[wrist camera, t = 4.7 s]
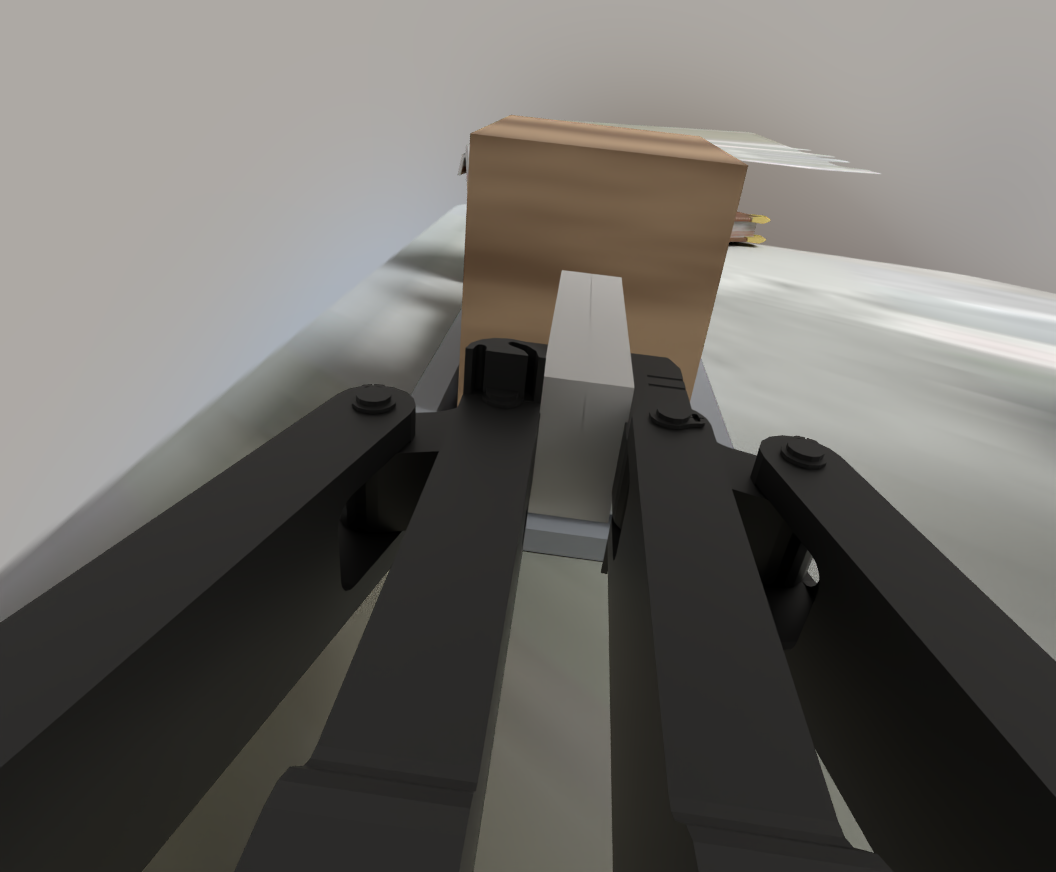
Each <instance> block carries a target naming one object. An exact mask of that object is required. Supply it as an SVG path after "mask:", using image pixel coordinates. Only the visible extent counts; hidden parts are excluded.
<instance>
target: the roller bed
mask: <svg viewBox="0 0 1056 872" xmlns="http://www.w3.org/2000/svg"><path fill="white" fill-rule="evenodd" d="M461 318H462V308H461V310H460V312H459V313H458V315H457V317H456V319H455V320H454V322H453V324H452V325H451V327H450V329H449V330H448V332H447V334H446V336H445V337H444V339H443V341H442V342H441V344H440V346H439V348H438V349H437V351H436V353H435V354H434V356H433V358H432V359H431V361H430V363H429V365H428V366H427V368H426V370H425V371H424V373H423V375H422V377H421V378H420V380H419V382H418V383H417V385H416V387H415V389H414V390H413V392H412V394H411V395H410V396H412V397H413V398H414V401H415V405H416V413H422V412H439V411H446V410H450V409H455V408H457V402H458V381H459V360H460V339H461ZM690 405H691V408H692V410H695V411H697V412H698V413H700V414H701V415H703V416H704V417H706V418H707V420H708V421H709V422H710V424H711V425H712V429H713V432H714V435H715V438H716V441H717V442H718V443H720V444H722V445H724V446H727V447H730V448H733V449H734V447H733V445H732V442H731V439H730V436H729V434H728V431H727V428H726V425H725V423H724V420H723V417H722V414H721V412H720V409H719V406H718V403H717V401H716V398H715V395H714V392H713V390H712V387H711V384H710V381H709V379H708V376H707V373H706V370H705V368H704V365H703V362H702V359H700V363H699V367H698V372H697V376H696V380H695V384H694V388H693V392H692V396H691V400H690ZM611 519H612V505H611V510H610V515H609V520H608V523H603V522H596V521H588V520H581V519H573V518H566V517H559V516H551V515H544V514H536V513H529V512H528V515H527V524H526V531H525V538H524V545H523V550H524V551H532V552H539V553H546V554H553V555H561V556H568V557H575V558H583V559H590V560H597V561H603V559H604V554H605V549H606V544H607V539H608V534H609V529H610V524H611Z"/></svg>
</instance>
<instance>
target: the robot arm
mask: <svg viewBox="0 0 1056 872" xmlns="http://www.w3.org/2000/svg"><path fill="white" fill-rule="evenodd" d="M611 505H612V519H611V524H610V529H609V534H608V539H607V544H606V549H605V554H604V559H603V564H602V569H601V573H605V574H607V572H608V604H609V664H610V724H611V784H612V843H613V872H1056V661H1055V660H1054V659H1052V658H1051V657H1050V656H1049V655H1048V654H1047V653H1046V652H1045V651H1044V650H1043V649H1042V648H1041V647H1040V646H1039V645H1038V644H1037V643H1036V642H1035V641H1034V640H1033V639H1032V638H1030V637H1029V636H1028V635H1027V634H1026V633H1025V632H1024V631H1023V630H1022V629H1021V628H1020V627H1019V626H1018V625H1017V624H1016V623H1015V622H1014V621H1013V620H1012V619H1011V618H1009V617H1008V616H1007V615H1006V614H1005V613H1004V612H1003V611H1002V610H1001V609H1000V608H999V607H998V606H997V605H996V604H995V603H994V602H993V601H992V600H991V599H990V598H989V597H987V596H986V595H985V594H984V593H983V592H982V591H981V590H980V589H979V588H978V587H977V586H976V585H975V584H974V583H973V582H972V581H971V580H970V579H969V578H968V577H966V576H965V575H964V574H963V573H962V572H961V571H960V570H959V569H958V568H957V567H956V566H955V565H954V564H953V563H952V562H951V561H950V560H949V559H948V558H947V557H946V556H944V555H943V554H942V553H941V552H940V551H939V550H938V549H937V548H936V547H935V546H934V545H933V544H932V543H931V542H930V541H929V540H928V539H927V538H926V537H925V536H924V535H922V534H921V533H920V532H919V531H918V530H917V529H916V528H915V527H914V526H913V525H912V524H911V523H910V522H909V521H908V520H907V519H906V518H905V517H904V516H903V515H901V514H900V513H899V512H898V511H897V510H896V509H895V508H894V507H893V506H892V505H891V504H890V503H889V502H888V501H887V500H886V499H885V498H884V497H883V496H882V495H881V494H879V493H878V492H877V491H876V490H875V489H874V488H873V487H872V486H871V485H870V484H869V483H868V482H867V481H866V480H865V479H864V478H863V477H862V476H861V475H860V474H858V473H857V472H856V471H855V470H854V469H853V468H852V467H851V466H850V465H849V464H848V463H847V462H846V461H845V460H844V459H843V458H842V457H841V456H839V455H838V454H836V453H835V452H834V451H832V450H831V449H829V448H827V447H825V446H823V445H821V444H818V442H817V441H815V440H812V439H809V438H807V439H805V437H800V436H794V437H792V436H783V435H782V436H772V437H768V438H767V439H765V440H763V441H762V442H761V445H760V448H759V451H758V454H757V456H756V455H753V454H749V453H746V452H742V451H739V450H735V449H733V448H730V447H727V446H724V445H722V444H720V443H718V442H717V441H716V438H715V435H714V432H713V429H712V425H711V424H710V422H709V421H708V420H707V418H706V417H704V416H703V415H701V414H700V413H698V412H697V411H695V410H692V408H691V405H690V401H689V397H688V394H687V391H686V387H685V383H684V381H683V376H682V373H681V369H680V368H679V367H678V366H677V365H676V364H675V363H673V362H672V361H671V360H670V359H669V358H666V357H658V356H650V355H643V354H635V353H630V345H629V337H628V328H627V320H626V312H625V303H624V295H623V286H622V278H621V277H614V276H606V275H598V274H590V273H581V272H573V271H565V270H562V272H561V277H560V283H559V288H558V294H557V299H556V305H555V310H554V316H553V321H552V327H551V332H550V337H549V343H548V344H541V343H533V342H525V341H520V340H515V339H508V338H489V339H481V340H478V341H475V342H472V343H470V344H469V345H468V346H467V347H466V348H465V366H464V385H463V395H462V397H461V400H460V402H459V405H458V407H457V408H455V409H450V410H446V411H439V412H422V413H416V405H415V401H414V398H413V397H412V396H410V395H409V394H408V393H407V392H405V391H402V390H399V389H397V388H393V387H387V386H384V385H379V384H374V386H372V384H369V385H362V386H360V387H356V388H351V389H348V390H345V391H343V392H341V393H339V394H337V395H336V396H334V397H333V398H331V399H330V400H328V401H327V402H325V403H324V404H322V405H321V406H319V407H318V408H316V409H315V410H314V411H312V412H311V413H309V414H308V415H306V416H305V417H303V418H302V419H300V420H299V421H297V422H296V423H294V424H293V425H291V426H290V427H288V428H287V429H285V430H284V431H283V432H281V433H280V434H278V435H277V436H275V437H274V438H272V439H271V440H269V441H268V442H266V443H265V444H263V445H262V446H260V447H259V448H257V449H256V450H255V451H253V452H252V453H250V454H249V455H247V456H246V457H244V458H243V459H241V460H240V461H238V462H237V463H235V464H234V465H232V466H231V467H229V468H228V469H226V470H225V471H224V472H222V473H221V474H219V475H218V476H216V477H215V478H213V479H212V480H210V481H209V482H207V483H206V484H204V485H203V486H201V487H200V488H198V489H197V490H196V491H194V492H193V493H191V494H190V495H188V496H187V497H185V498H184V499H182V500H181V501H179V502H178V503H176V504H175V505H173V506H172V507H170V508H169V509H167V510H166V511H165V512H163V513H162V514H160V515H159V516H157V517H156V518H154V519H153V520H151V521H150V522H148V523H147V524H145V525H144V526H142V527H141V528H139V529H138V530H136V531H135V532H134V533H132V534H131V535H129V536H128V537H126V538H125V539H123V540H122V541H120V542H119V543H117V544H116V545H114V546H113V547H111V548H110V549H108V550H107V551H106V552H104V553H103V554H101V555H100V556H98V557H97V558H95V559H94V560H92V561H91V562H89V563H88V564H86V565H85V566H83V567H82V568H80V569H79V570H77V571H76V572H75V573H73V574H72V575H70V576H69V577H67V578H66V579H64V580H63V581H61V582H60V583H58V584H57V585H55V586H54V587H52V588H51V589H49V590H48V591H47V592H45V593H44V594H42V595H41V596H39V597H38V598H36V599H35V600H33V601H32V602H30V603H29V604H27V605H26V606H24V607H23V608H21V609H20V610H18V611H17V612H16V613H14V614H13V615H11V616H10V617H8V618H7V619H5V620H4V621H2V622H1V623H0V872H142V870H143V869H144V868H145V867H146V865H147V864H148V863H149V862H150V861H151V859H152V858H153V857H154V856H155V854H156V853H157V852H158V851H159V850H160V848H161V847H162V846H163V845H164V843H165V842H166V841H167V840H168V839H169V837H170V836H171V835H172V834H173V833H174V831H175V830H176V829H177V828H178V826H179V825H180V824H181V823H182V822H183V820H184V819H185V818H186V817H187V815H188V814H189V813H190V812H191V811H192V809H193V808H194V807H195V806H196V804H197V803H198V802H199V801H200V800H201V798H202V797H203V796H204V795H205V794H206V792H207V791H208V790H209V789H210V787H211V786H212V785H213V784H214V783H215V781H216V780H217V779H218V778H219V776H220V775H221V774H222V773H223V772H224V770H225V769H226V768H227V767H228V765H229V764H230V763H231V762H232V761H233V759H234V758H235V757H236V756H237V755H238V753H239V752H240V751H241V750H242V748H243V747H244V746H245V745H246V744H247V742H248V741H249V740H250V739H251V737H252V736H253V735H254V734H255V733H256V731H257V730H258V729H259V728H260V726H261V725H262V724H263V723H264V722H265V720H266V719H267V718H268V717H269V716H270V714H271V713H272V712H273V711H274V709H275V708H276V707H277V706H278V705H279V703H280V702H281V701H282V700H283V698H284V697H285V696H286V695H287V694H288V692H289V691H290V690H291V689H292V688H293V686H294V685H295V684H296V683H297V681H298V680H299V679H300V678H301V677H302V675H303V674H304V673H305V672H306V670H307V669H308V668H309V667H310V666H311V664H312V663H313V662H314V661H315V659H316V658H317V657H318V656H319V655H320V653H321V652H322V651H323V650H324V649H325V647H326V646H327V645H328V644H329V642H330V641H331V640H332V639H333V638H334V636H335V635H336V634H337V633H338V631H339V630H340V629H341V628H342V627H343V625H344V624H345V623H346V622H347V620H348V619H349V618H350V617H351V616H352V614H353V613H354V612H355V611H356V610H357V608H358V607H359V606H360V605H361V603H362V602H363V601H364V600H365V599H366V597H367V596H368V595H369V594H370V592H371V591H372V590H373V589H374V588H375V586H376V585H377V584H378V583H379V581H380V580H381V579H382V578H383V577H384V575H385V574H386V573H387V572H388V571H389V569H390V571H389V573H388V575H387V578H386V580H385V583H384V585H383V588H382V590H381V592H380V595H379V597H378V600H377V602H376V604H375V607H374V609H373V612H372V614H371V616H370V619H369V621H368V624H367V626H366V628H365V631H364V633H363V636H362V638H361V640H360V643H359V645H358V648H357V650H356V652H355V655H354V657H353V660H352V662H351V664H350V667H349V669H348V672H347V674H346V677H345V679H344V681H343V684H342V686H341V689H340V691H339V693H338V696H337V698H336V701H335V703H334V705H333V708H332V710H331V713H330V715H329V717H328V720H327V722H326V725H325V727H324V729H323V732H322V734H321V737H320V739H319V741H318V744H317V746H316V748H315V750H314V752H313V754H312V756H311V758H310V759H309V761H308V762H307V763H306V764H305V765H304V766H292V767H289V768H288V770H287V771H286V772H285V773H284V774H283V775H282V776H281V777H280V779H279V780H278V781H277V783H276V785H275V787H274V789H273V790H272V792H271V794H270V796H269V798H268V800H267V802H266V803H265V805H264V807H263V809H262V812H261V814H260V816H259V818H258V820H257V823H256V825H255V827H254V829H253V831H252V834H251V836H250V838H249V840H248V842H247V845H246V847H245V849H244V851H243V853H242V856H241V858H240V860H239V862H238V864H237V867H236V869H235V871H234V872H473V871H474V864H475V857H476V851H477V844H478V838H479V831H480V825H481V818H482V812H483V805H484V799H485V792H486V786H487V779H488V773H489V766H490V760H491V753H492V747H493V740H494V734H495V727H496V721H497V714H498V708H499V701H500V694H501V688H502V681H503V675H504V668H505V662H506V655H507V649H508V642H509V636H510V629H511V623H512V616H513V610H514V603H515V597H516V590H517V584H518V577H519V571H520V564H521V558H522V551H523V545H524V538H525V531H526V524H527V515H528V512H529V513H536V514H544V515H551V516H559V517H566V518H573V519H581V520H588V521H596V522H603V523H608V520H609V515H610V510H611ZM812 558H814V560H815V562H816V564H817V568H818V571H819V581H818V583H816V582H815V581H814V580H813V579H812V577H811V576H810V575H809V573H808V572H807V570H808V568H809V565H810V563H811V561H812ZM815 750H816V751H817V753H818V755H819V757H820V758H821V760H822V762H823V764H824V765H825V767H826V769H827V771H828V772H829V774H830V776H831V778H832V779H833V781H834V783H835V785H836V786H837V788H838V790H839V792H840V793H841V795H842V797H843V799H844V800H845V802H846V804H847V806H848V808H849V809H850V811H851V813H852V815H853V816H854V818H855V820H856V822H857V823H858V825H859V827H860V829H861V830H862V832H863V834H864V836H865V837H866V839H867V841H868V843H869V844H870V846H871V848H872V850H873V851H874V853H872V852H868V851H864V850H860V849H857V848H853V846H852V845H851V844H850V843H849V842H848V841H847V839H846V838H845V836H844V834H843V832H842V829H841V827H840V825H839V823H838V820H837V817H836V813H835V810H834V807H833V804H832V801H831V798H830V795H829V791H828V788H827V785H826V782H825V779H824V776H823V773H822V770H821V766H820V763H819V760H818V757H817V754H816V751H815Z"/></svg>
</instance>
